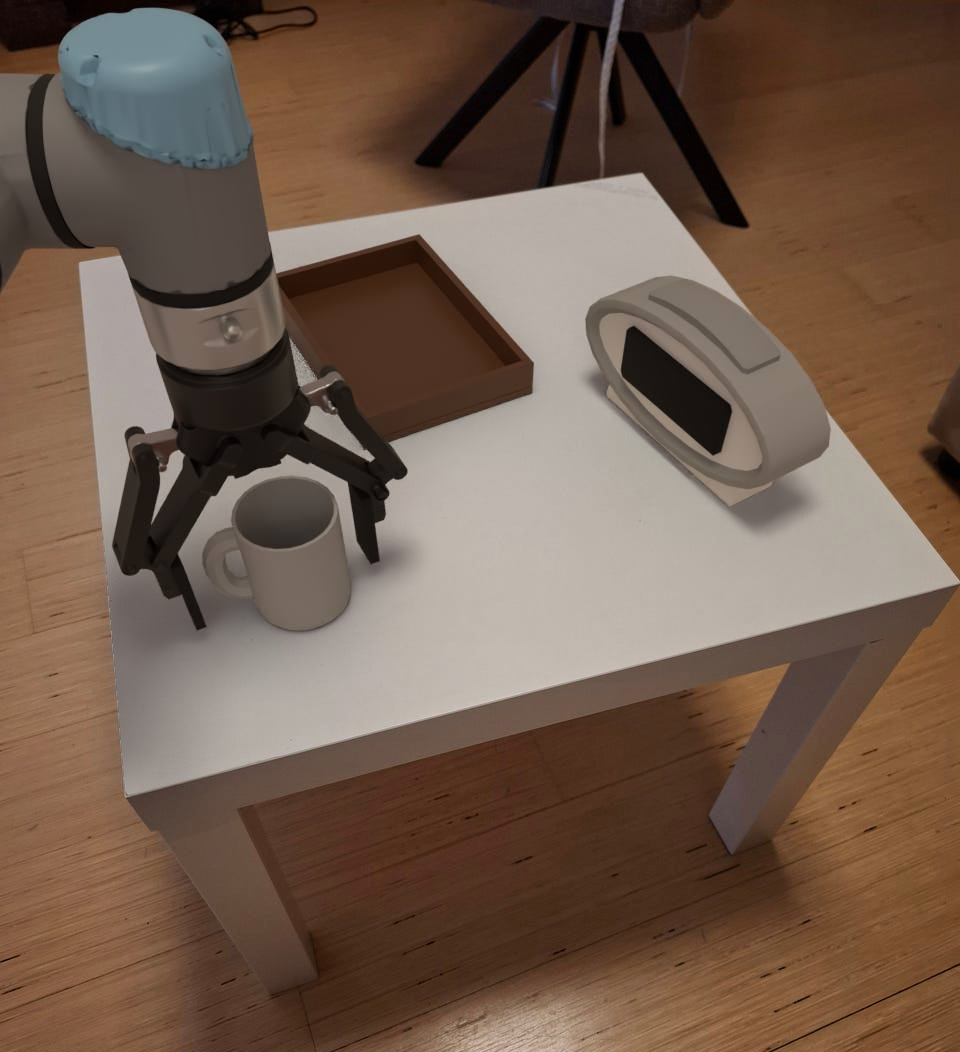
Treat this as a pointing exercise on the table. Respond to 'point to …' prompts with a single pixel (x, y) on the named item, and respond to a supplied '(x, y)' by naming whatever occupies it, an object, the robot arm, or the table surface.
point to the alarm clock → (708, 384)
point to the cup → (284, 553)
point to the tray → (402, 336)
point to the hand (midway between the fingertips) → (284, 583)
